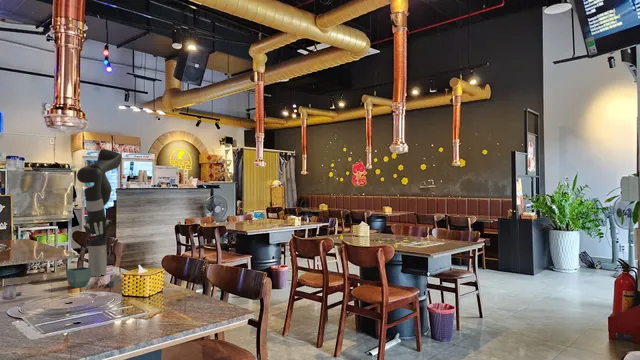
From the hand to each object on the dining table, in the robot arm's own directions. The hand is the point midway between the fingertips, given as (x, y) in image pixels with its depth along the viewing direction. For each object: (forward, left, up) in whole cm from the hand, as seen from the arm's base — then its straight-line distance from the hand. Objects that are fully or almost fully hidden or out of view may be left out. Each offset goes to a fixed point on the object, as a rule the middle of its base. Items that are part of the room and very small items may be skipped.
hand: (100, 240), depth 205 cm
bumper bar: (-5, +7, -23) cm, 25 cm away
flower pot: (-11, -8, -24) cm, 27 cm away
